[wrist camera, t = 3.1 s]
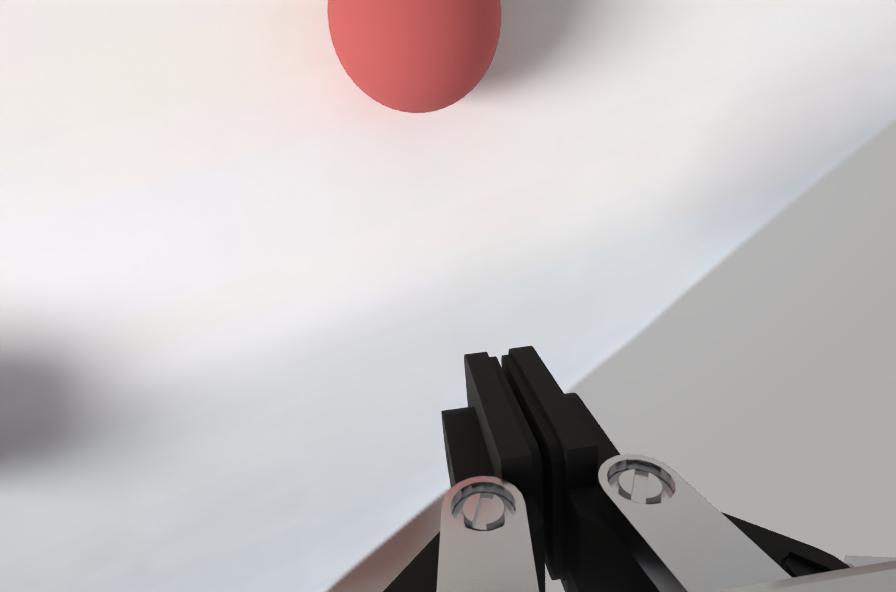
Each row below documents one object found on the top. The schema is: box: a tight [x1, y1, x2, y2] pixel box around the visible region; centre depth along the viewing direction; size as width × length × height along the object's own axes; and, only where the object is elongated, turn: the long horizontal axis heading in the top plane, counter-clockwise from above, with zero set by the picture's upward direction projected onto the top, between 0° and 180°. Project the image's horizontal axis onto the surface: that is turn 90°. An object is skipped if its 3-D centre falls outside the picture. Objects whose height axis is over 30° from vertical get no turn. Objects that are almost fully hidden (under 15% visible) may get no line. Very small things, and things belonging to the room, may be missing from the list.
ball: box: [328, 0, 501, 113], centre depth 17 cm, size 6×6×6 cm
